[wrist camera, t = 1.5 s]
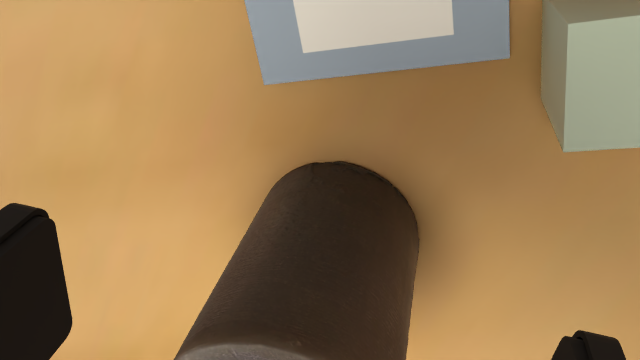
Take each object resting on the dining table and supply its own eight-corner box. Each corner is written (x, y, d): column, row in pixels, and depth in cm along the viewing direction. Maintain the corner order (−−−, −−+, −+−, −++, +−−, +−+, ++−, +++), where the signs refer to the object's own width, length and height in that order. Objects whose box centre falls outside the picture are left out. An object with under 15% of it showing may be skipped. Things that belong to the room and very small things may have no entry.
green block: (669, -26, 22) (735, 3, 17) (656, 87, 25) (710, 142, 20) (542, -8, 24) (568, 24, 19) (540, 98, 26) (563, 152, 21)
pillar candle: (350, 129, 29) (266, 331, 16) (452, 254, 31) (448, 513, 19) (231, 210, 33) (92, 417, 21) (328, 313, 36) (258, 554, 23)
